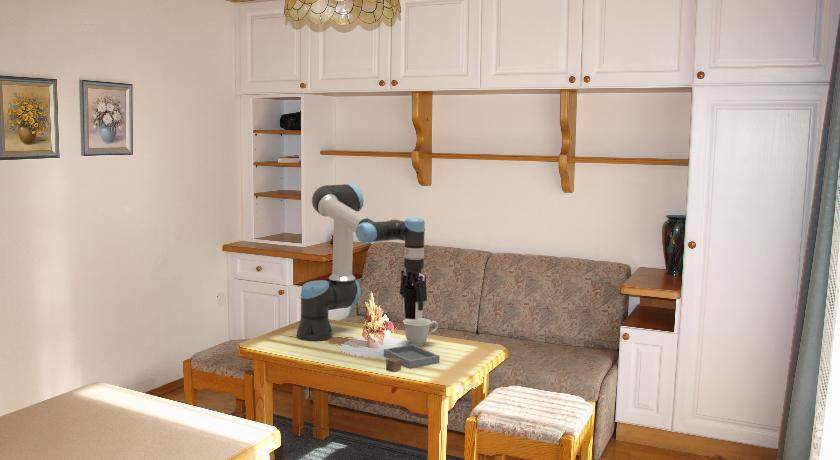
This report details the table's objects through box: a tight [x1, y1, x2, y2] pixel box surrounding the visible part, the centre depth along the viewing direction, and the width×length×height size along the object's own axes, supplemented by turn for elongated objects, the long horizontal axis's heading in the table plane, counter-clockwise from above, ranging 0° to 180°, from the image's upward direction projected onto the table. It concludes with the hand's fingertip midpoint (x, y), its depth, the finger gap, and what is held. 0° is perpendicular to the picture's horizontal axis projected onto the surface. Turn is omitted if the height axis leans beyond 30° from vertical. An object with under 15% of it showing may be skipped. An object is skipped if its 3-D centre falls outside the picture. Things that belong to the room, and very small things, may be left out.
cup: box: [403, 284, 417, 319], centre depth 297 cm, size 8×8×12 cm
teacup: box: [402, 317, 439, 347], centre depth 321 cm, size 12×15×10 cm
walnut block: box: [385, 358, 402, 373], centre depth 287 cm, size 4×4×4 cm
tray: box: [383, 344, 440, 369], centre depth 300 cm, size 18×14×3 cm
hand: (412, 315), depth 298 cm, fingers closed on cup, 8 cm apart
